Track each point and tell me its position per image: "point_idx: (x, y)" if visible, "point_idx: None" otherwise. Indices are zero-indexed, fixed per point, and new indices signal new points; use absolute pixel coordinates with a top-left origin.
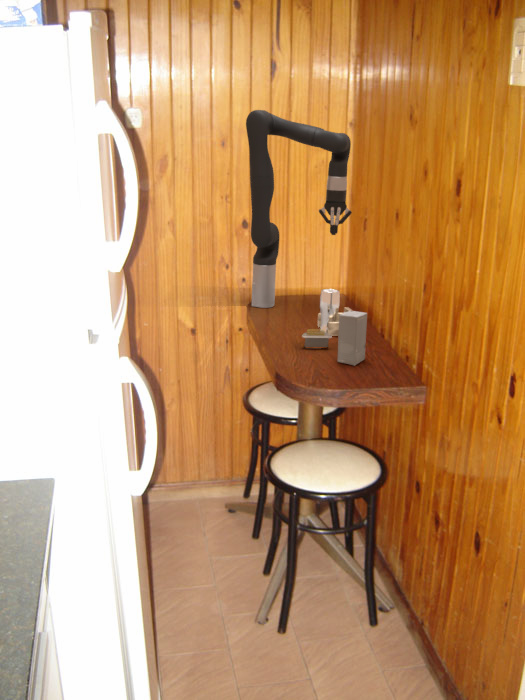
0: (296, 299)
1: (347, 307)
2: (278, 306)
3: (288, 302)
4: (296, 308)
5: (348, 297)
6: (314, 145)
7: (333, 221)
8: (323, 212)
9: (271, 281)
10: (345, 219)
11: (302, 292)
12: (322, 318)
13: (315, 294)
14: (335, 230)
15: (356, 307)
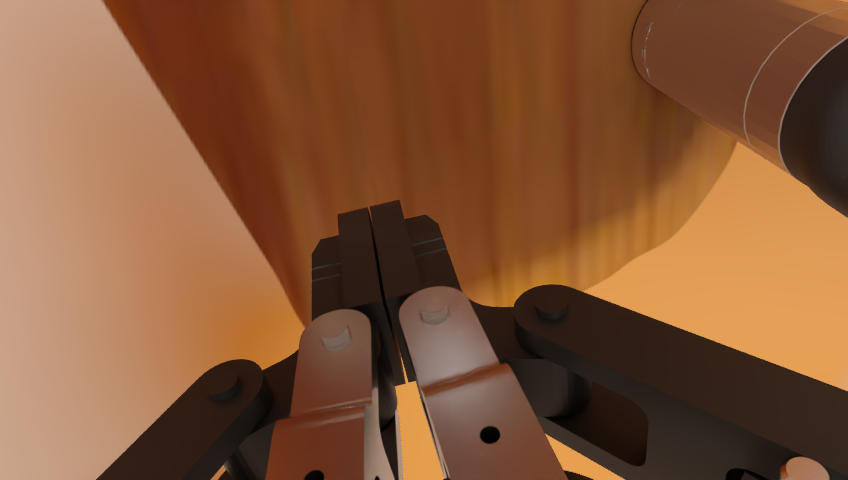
0: (525, 198)
1: None
2: (609, 36)
3: (560, 132)
4: (516, 30)
5: (298, 315)
6: None
7: (419, 349)
8: (813, 467)
9: (740, 26)
10: (116, 473)
11: None
12: None
13: None
14: (347, 247)
15: (215, 166)
